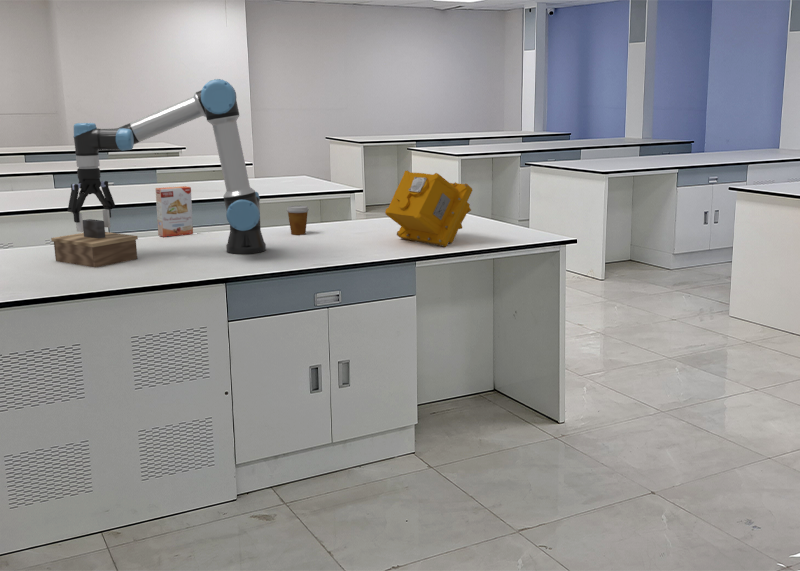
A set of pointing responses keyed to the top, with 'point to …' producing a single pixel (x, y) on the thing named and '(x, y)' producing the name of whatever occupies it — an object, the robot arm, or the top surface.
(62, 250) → the storage box
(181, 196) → the cracker box
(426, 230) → the control box
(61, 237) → the lid
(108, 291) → the top surface
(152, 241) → the top surface
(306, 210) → the disposable coffee cup
